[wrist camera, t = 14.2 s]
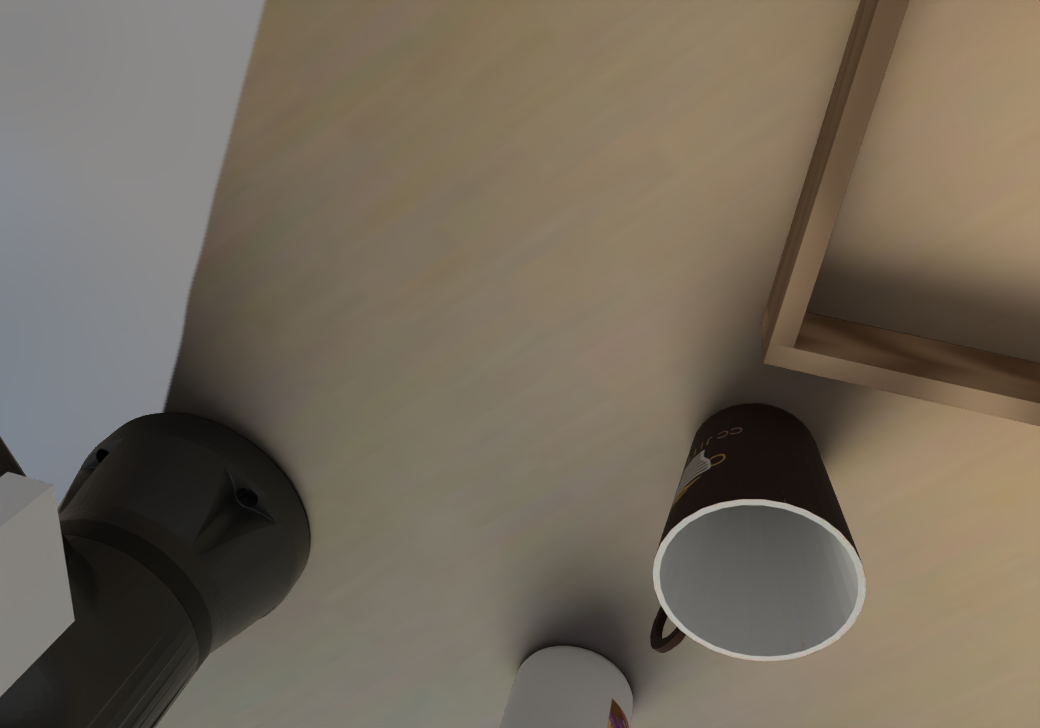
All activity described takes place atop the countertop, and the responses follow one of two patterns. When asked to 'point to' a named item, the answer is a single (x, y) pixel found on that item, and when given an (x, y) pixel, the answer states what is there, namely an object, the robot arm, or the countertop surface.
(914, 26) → the countertop surface
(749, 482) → the coffee mug
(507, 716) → the milk bottle
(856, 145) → the caddy
